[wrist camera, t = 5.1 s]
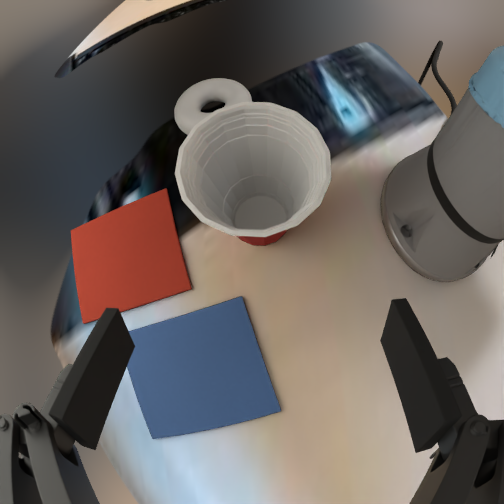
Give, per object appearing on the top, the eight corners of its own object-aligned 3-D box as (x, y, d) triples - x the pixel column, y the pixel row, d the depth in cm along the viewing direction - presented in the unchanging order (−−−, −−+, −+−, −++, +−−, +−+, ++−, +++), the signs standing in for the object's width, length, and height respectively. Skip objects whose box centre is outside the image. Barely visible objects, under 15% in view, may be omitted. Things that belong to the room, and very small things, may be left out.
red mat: (72, 231, 32) (70, 230, 32) (167, 189, 32) (166, 188, 32) (84, 323, 29) (83, 323, 28) (192, 289, 29) (191, 288, 29)
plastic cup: (242, 293, 28) (218, 267, 17) (193, 207, 31) (152, 144, 20) (334, 237, 29) (365, 181, 18) (278, 160, 32) (276, 83, 20)
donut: (187, 156, 33) (265, 129, 33) (178, 140, 30) (263, 110, 30) (173, 105, 36) (240, 82, 36) (165, 89, 33) (236, 64, 33)
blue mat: (120, 334, 28) (118, 334, 28) (242, 296, 28) (241, 296, 28) (153, 437, 25) (152, 439, 25) (281, 410, 25) (281, 411, 25)
